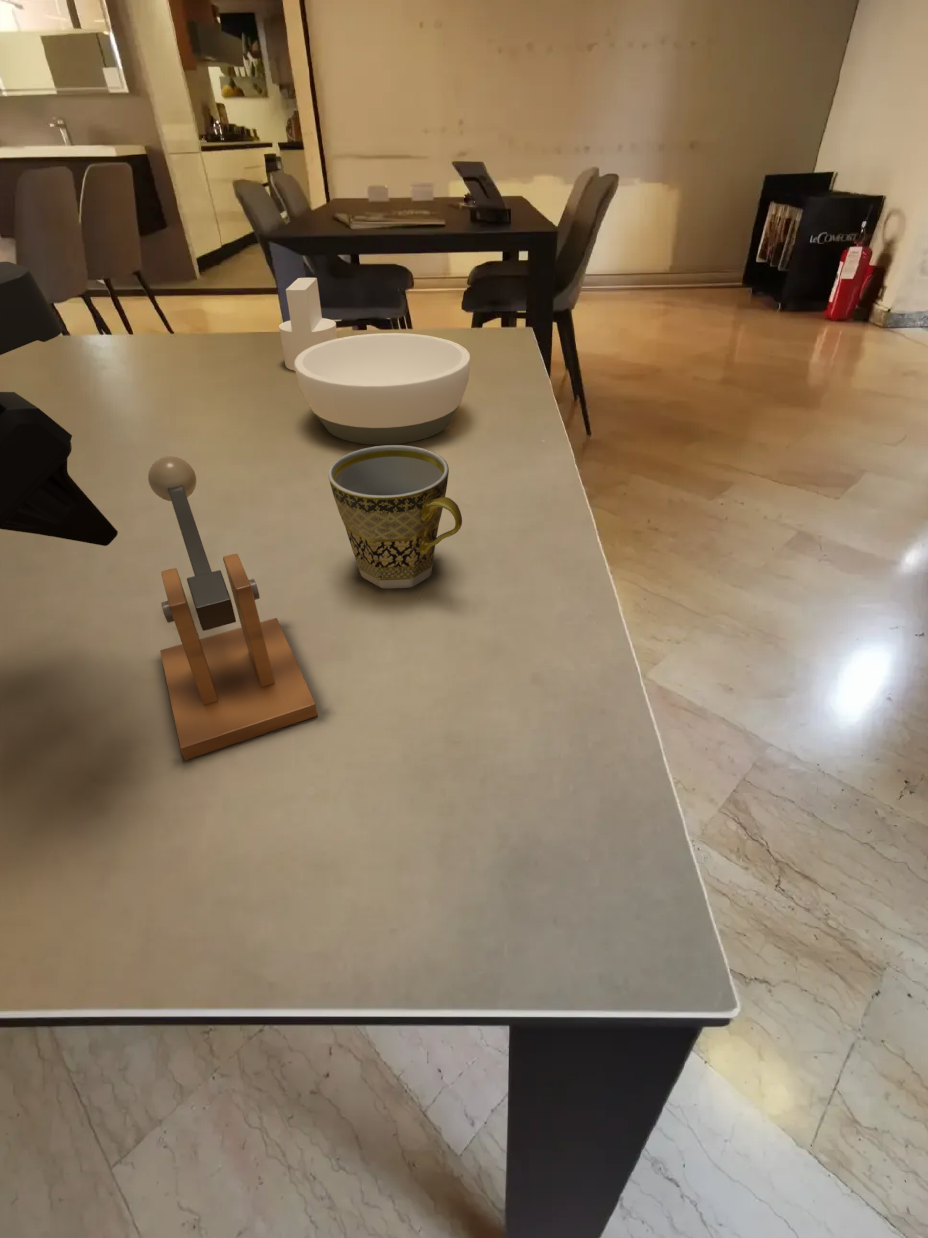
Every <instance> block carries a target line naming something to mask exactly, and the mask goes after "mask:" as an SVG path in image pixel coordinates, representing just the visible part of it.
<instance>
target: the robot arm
mask: <svg viewBox="0 0 928 1238" xmlns="http://www.w3.org/2000/svg"><path fill="white" fill-rule="evenodd" d="M63 331H64V330H63V327H62V326H61V324H60V322H59V319H58V318H57V317H56V315H55V312H54V311H53V309H52V308H51V306H50V303H49V302H48V300H47V298H46V296H45V295H44V294H43V291H42V289H41V288H40V286H39V284H38V282H37V281H36V279H35V277H34V275H33V273H32V271H31V270H30V269H29V268H27V267H25V266H22V265H20V264H16V263H14V262H11V261H0V356H3V355H5V354H7V353H9V352H12V351H15V350H17V349H19V348H21V347H25V346H27V345H29V344H31V343H34V342H36V341H39V342H42V343H46V342H48V341H50V340H53V339H55V338H57V337H59V336H60V335H62V333H63ZM72 437H73V435H72V434H71V433H70V432H69V431H67V430H66V429H65V428H64V427H62V426H61V425H60V424H59V423H57V421H55V420H54V419H53V418H51V416H49V415H48V414H46V413H45V412H44V411H43V410H42V409H40V408H39V407H38V406H36V405H34V404H33V403H32V402H30V401H28V400H27V399H26V398H24V397H23V396H21V395H19V394H18V393H17V392H15V391H0V530H4V531H12V532H19V533H26V534H27V533H28V534H33V535H39V536H46V537H53V538H58V539H63V540H70V541H75V542H80V543H81V542H82V543H87V544H91V545H96V546H97V545H98V546H103V547H106V546H109V545H110V544H111V543H112V542H113V541H114V540H115V538H117V536H118V534H119V531H118V530H117V528H116V527H114V525H113V524H112V523H111V522H110V521H109V520H108V518H107V517H106V516H105V515H104V514H103V513H102V512H101V510H100V509H99V508H98V507H97V506H96V504H94V502H92V500H91V498H89V497H88V495H86V493H85V492H84V491H83V490H82V489H81V488H80V486H79V485H78V484H77V483H76V482H75V480H74V479H73V478H72V477H71V476H70V474H69V472H68V458H69V456H70V455H71V453H72V449H73V447H72Z"/></svg>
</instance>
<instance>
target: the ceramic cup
mask: <svg viewBox="0 0 928 1238" xmlns="http://www.w3.org/2000/svg"><path fill="white" fill-rule="evenodd" d="M449 470H450V469H449V465H448V462H447V461H446V460H445V458H443V456H441V455H439V454H437V453H436V452H435V451H432V450H429V449H426V448H423V447H418V446H412V445H402V444H390V445H374V446H372V447H371V446H370V447H366V448H361V449H357V450H355V451H352V452H349V453H347V454H344V455H343V456H341V457H340V458H339V459H337V460H336V461H335V462H333V464H332V465H331V466H330V468H329V470H328V480H329V485H330V488H331V492H332V495H333V499H334V501H335V505H336V507H337V511H338V513H339V516H340V518H341V521H342V523H343V526H344V528H345V531H346V534H347V537H348V540H349V543H350V546H351V549H352V550H351V551H352V552H353V555H354V558H355V561H356V565H357V567H358V571H359V573H360V576H361V577H362V578H363V579H364V580H366V581H368V582H370V583H372V584H373V585H375V586H377V587H378V588H381V589H406V588H408V589H409V588H413V587H415V586H417V585H418V584H420V583H421V582H424V581H425V580H427V579H429V578H430V577H431V575H432V572H433V563H434V557H435V550H436V549H435V548H436V545H438V544H439V543H440V542H442V541H443V540H444V539H446V538H449V537H451V536H453V535H455V534H456V533H458V532H459V531H460V530H461V527H462V526H463V517H462V513H461V510H460V508H459V506H458V504H457V503H456V502H455V501H454V500H453V499H452V498H450V497H447V496H446V495H447V488H448V481H449V473H450V471H449ZM444 509H446V510H447V511H449V512H450V514H451V515H452V517H453V518H454V522H455V523H454V527H453V528H452V529H450V530H448V531H445V532H444V533H441V534H440V535H438V532H439V527H440V520H441V518H442V514H443V510H444Z"/></svg>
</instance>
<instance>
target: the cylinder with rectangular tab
mask: <svg viewBox="0 0 928 1238" xmlns="http://www.w3.org/2000/svg"><path fill="white" fill-rule="evenodd" d="M285 295H286V300H287V307H288V314H289V320H286V321H283V322H282V323H280V324H279V325H278V329H279V335H280V343H281V349H282V354H283V359H284V365H285V367H286V368H287V369H288V370H291V371H294V372H296V371H295V367H294V362H295V359H296V358H297V356H298V355H299V354H300V353H302V352H303V351H304V350H306V349H308V348H310V347H312V346H314V345H317V344H320V343H323V342H326V341H330V340H334V339H338V338H339V337H338V330H337V322H336V321H335V320H332V319H330V318H327V317H323V314H322V307H321V299H320V292H319V283H318V278H317V277H298V278H296V280H294V281H293V282H292V283H291V284H290V285H289V286H288V287H287V288H286V289H285Z"/></svg>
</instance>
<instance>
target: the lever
mask: <svg viewBox="0 0 928 1238" xmlns="http://www.w3.org/2000/svg"><path fill="white" fill-rule="evenodd" d="M147 481H148V485H149V486H150V489H151V490H152V492H153V493H154V494H155V495H156V496H157V497H158V498H160V499H162V500H165V501H168V502H171V504H172V508H173V511H174V514H175V517H176V521H177V523H178V526H179V530H180V532H181V533H180V534H181V536H182V540H183V543H184V545H185V549H186V552H187V556H188V558H189V563H190V566H191V569H192V571H193V574H194V576H189V577H187V578H186V582H187V585H188V589H189V592H190V595H191V598H192V602H193V605H194V608H195V612H196V614H197V618H198V621H199V624H200V627H201V631H203V632H205V631H208V630H213V629H217V628H219V627H224V626H227V625H230V624H235V623H237V619H236V618H237V617H236V614H235V611H234V607H233V603H232V599H231V596H230V594H229V590H228V588H227V584H226V581H225V579H224V576H223V573H222V570H221V569H219V570H214V571H212V568H211V565H210V563H209V560H208V557H207V554H206V550H205V548H204V545H203V542H202V539H201V536H200V532H199V530H198V527H197V524H196V520H195V518H194V517H195V516H194V515H193V512H192V511H193V510H192V508H191V506H190V503H189V499H188V498H189V497H190V496H191V495H192V494H193V493H194V491H195V489H196V486H197V474H196V472H195V470H194V468H193V467H192V466H191V464H190V463H189V462H188V461H186V460H185V459H183V458H181V457H178V456H173V455H168V456H163V457H160V458H158V459H157V460H155V461H154V462H153V463H152V464H151V466H150V467H149V470H148V473H147Z"/></svg>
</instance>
